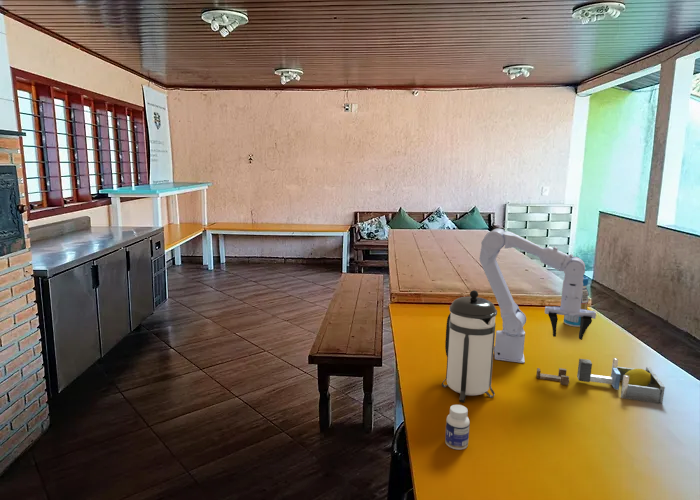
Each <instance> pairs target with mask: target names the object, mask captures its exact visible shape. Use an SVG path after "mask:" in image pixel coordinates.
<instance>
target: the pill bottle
mask: <svg viewBox="0 0 700 500" xmlns="http://www.w3.org/2000/svg"><path fill="white" fill-rule="evenodd" d="M449 407H450V408H449V414H448V415H446V421H445V441H444V442H445V444H446V446H448V447H449V448H450V449H453V450H465V449H467V447H468V445H469V438H470V437H469V435H470V419H469V416H468V412H469V411H468V408H467V407H466V406H464V405H462V404H452V405H451V406H449Z"/></svg>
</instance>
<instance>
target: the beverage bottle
mask: <svg viewBox="0 0 700 500" xmlns="http://www.w3.org/2000/svg"><path fill="white" fill-rule="evenodd" d="M583 277H584V278H583V281H582V282H583V291H582V299H581V308H580V309H584V310H588V304H589V298H588V297H589V295H590V294H589V291H588V288H587V287H588V284H589V277H588V276H585V275H583ZM580 322H581V317H579V316H569V315H563V323H564V324H565V325H567V326H570V327H575V328H580Z"/></svg>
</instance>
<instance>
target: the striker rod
mask: <svg viewBox="0 0 700 500" xmlns="http://www.w3.org/2000/svg"><path fill="white" fill-rule="evenodd" d="M577 367H578V368H577V375H576V376H577V380H578V382H584V383H585V382H586V383H592V382H593V383H600V384H606V385H611V386H612V387H613V389H614V390H620V383H621V382H620V381H621V380H620V376H621V374H620V372H619V371H618V369H617V368H612V367H611V371H612V376H611V375H610V376H606V375H599V374H592V370H593V369H592V367H593V363H592V361H591V360H590V359H587V358H585V359H584V358H578V366H577Z"/></svg>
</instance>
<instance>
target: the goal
mask: <svg viewBox="0 0 700 500" xmlns="http://www.w3.org/2000/svg"><path fill="white" fill-rule="evenodd" d="M618 365H619V358H616V357H614V358H612V365H611V369H612V368H617V369H618V371H619V372H620V374H621V376H620V381H622V382H623V383H621V386H622V387H621V390H620V391H621V393H620V398H621V399H628V400H633V401H634V400H635V401H641V402H648V403H655V404H656V403H657V404H663V402H664V395H665V389H666V387H665V385H664V384H663V382H662V381H661V380H660V379H659V377H658V376H657V375H656V373H655V372H654V371H653V369H652V368H651V367H649V366H646V367H645V370H646V371H647V372H648V373H650V374H651V381H650V383H649V384H648V385H647V386H646V387H645V386H637V385H630V384H628V383H629V376H627V375H625V373H626V372H628V371H630V370H632V369H634V368H631V367H624V366H618ZM610 371H611V372H610V373H611V374H610V377H611V376H612V370H610Z"/></svg>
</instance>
